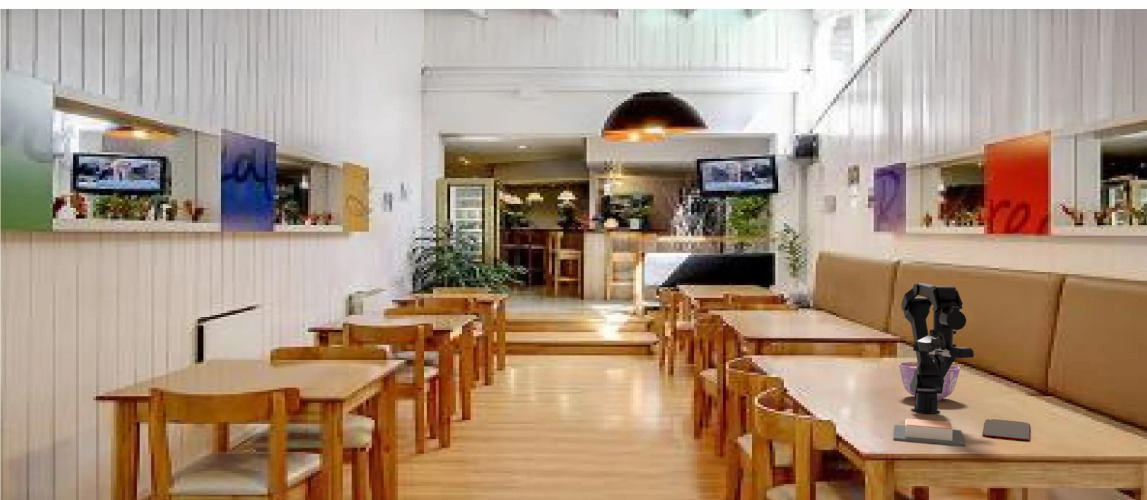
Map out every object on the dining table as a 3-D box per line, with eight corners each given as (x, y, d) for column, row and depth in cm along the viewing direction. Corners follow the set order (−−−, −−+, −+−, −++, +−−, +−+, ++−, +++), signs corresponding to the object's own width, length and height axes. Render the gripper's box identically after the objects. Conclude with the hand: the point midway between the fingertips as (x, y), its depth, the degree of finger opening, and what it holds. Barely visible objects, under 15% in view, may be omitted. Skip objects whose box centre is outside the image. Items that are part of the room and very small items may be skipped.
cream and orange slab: (905, 418, 259) (905, 424, 249) (950, 421, 255) (952, 428, 245) (905, 429, 259) (905, 436, 249) (950, 433, 255) (952, 440, 245)
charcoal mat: (894, 426, 265) (894, 424, 265) (961, 432, 259) (961, 430, 259) (893, 440, 248) (893, 437, 248) (964, 446, 241) (964, 444, 241)
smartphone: (981, 434, 254) (985, 418, 276) (981, 440, 254) (985, 423, 276) (1030, 439, 248) (1030, 422, 270) (1030, 445, 248) (1030, 427, 270)
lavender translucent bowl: (969, 404, 305) (970, 370, 304) (909, 403, 305) (910, 369, 305) (945, 394, 325) (946, 362, 324) (889, 393, 325) (890, 361, 325)
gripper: (900, 324, 281) (899, 374, 282) (948, 330, 264) (946, 383, 265) (927, 323, 286) (926, 373, 286) (975, 329, 269) (974, 381, 269)
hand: (942, 377), depth 276 cm, fingers closed
